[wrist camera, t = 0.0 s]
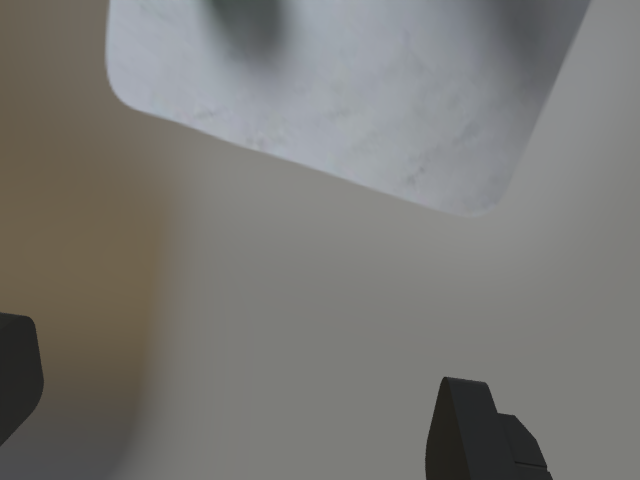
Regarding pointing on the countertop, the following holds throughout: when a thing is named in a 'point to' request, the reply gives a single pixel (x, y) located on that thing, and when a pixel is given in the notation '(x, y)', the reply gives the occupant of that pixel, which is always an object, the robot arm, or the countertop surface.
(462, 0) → the countertop surface
